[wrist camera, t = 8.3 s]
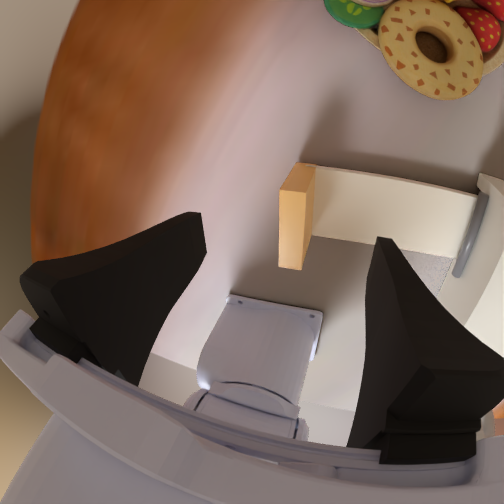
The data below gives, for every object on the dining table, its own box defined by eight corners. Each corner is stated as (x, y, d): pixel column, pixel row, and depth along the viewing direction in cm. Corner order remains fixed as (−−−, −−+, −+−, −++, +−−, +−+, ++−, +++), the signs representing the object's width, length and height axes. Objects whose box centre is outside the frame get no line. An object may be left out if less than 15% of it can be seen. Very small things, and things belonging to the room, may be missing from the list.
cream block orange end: (294, 226, 21) (278, 266, 17) (296, 162, 18) (279, 189, 14) (472, 255, 17) (490, 299, 13) (491, 198, 14) (521, 234, 10)
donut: (453, 392, 27) (453, 458, 19) (473, 381, 25) (478, 450, 17) (477, 408, 28) (478, 464, 20) (495, 399, 26) (498, 456, 18)
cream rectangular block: (402, 348, 25) (402, 398, 21) (470, 169, 14) (507, 208, 10) (487, 355, 22) (495, 399, 17) (567, 205, 11) (602, 245, 6)
